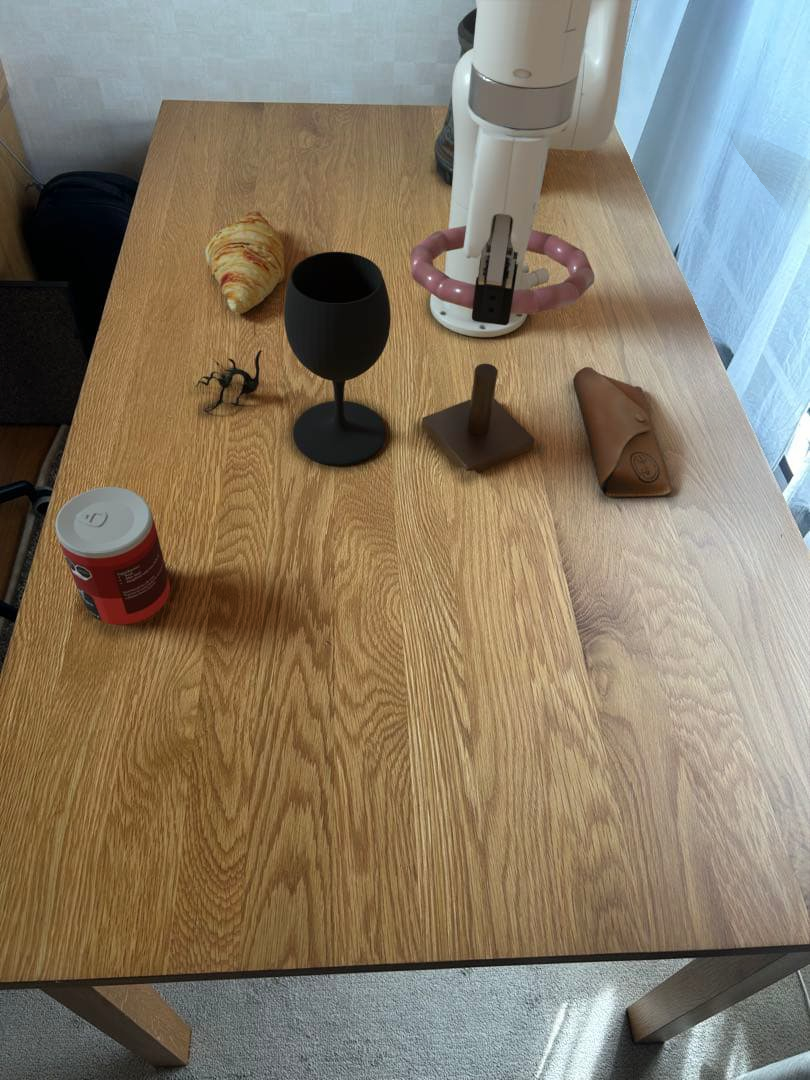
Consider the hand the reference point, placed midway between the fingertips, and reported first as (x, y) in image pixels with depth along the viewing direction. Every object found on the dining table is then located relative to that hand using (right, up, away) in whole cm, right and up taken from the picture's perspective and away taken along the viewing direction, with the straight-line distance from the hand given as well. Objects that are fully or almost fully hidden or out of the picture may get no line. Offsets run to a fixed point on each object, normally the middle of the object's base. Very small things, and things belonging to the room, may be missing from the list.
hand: (492, 309), depth 78 cm
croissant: (-28, +15, +41) cm, 52 cm away
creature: (-28, -3, +25) cm, 38 cm away
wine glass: (-15, -8, +22) cm, 28 cm away
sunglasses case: (+17, -9, +23) cm, 30 cm away
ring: (+1, +5, +5) cm, 7 cm away
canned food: (-33, -25, +6) cm, 42 cm away
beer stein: (+6, +36, +61) cm, 72 cm away
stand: (0, -9, +22) cm, 24 cm away
